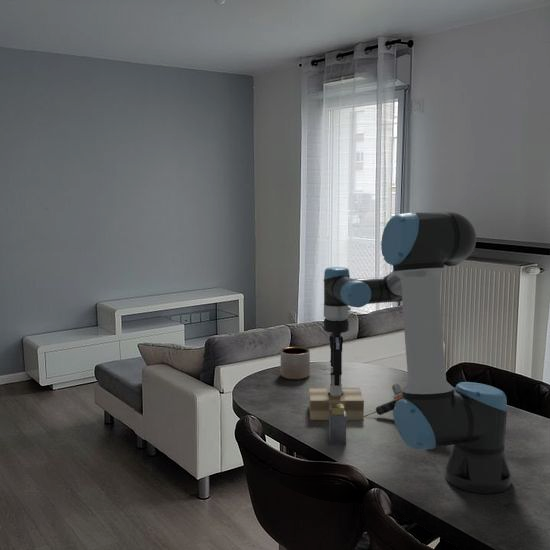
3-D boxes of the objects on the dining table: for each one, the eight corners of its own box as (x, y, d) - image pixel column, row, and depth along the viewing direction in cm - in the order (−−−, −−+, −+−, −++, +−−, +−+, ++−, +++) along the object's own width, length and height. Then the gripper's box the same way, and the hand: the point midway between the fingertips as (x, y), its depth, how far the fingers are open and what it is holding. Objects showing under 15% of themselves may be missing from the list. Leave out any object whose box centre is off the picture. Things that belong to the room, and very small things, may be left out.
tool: (454, 402, 176) (432, 365, 206) (363, 438, 180) (354, 396, 209) (460, 415, 177) (437, 376, 206) (368, 450, 180) (359, 407, 210)
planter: (278, 379, 234) (278, 353, 232) (282, 370, 244) (282, 346, 243) (308, 380, 232) (308, 355, 230) (311, 372, 242) (311, 347, 241)
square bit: (346, 443, 177) (346, 408, 175) (330, 443, 177) (330, 408, 176) (344, 437, 181) (345, 403, 180) (329, 437, 181) (329, 403, 180)
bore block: (363, 419, 194) (363, 400, 193) (310, 419, 195) (310, 400, 194) (359, 405, 206) (359, 387, 205) (309, 405, 206) (309, 387, 206)
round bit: (341, 414, 199) (342, 377, 197) (330, 414, 199) (330, 377, 197) (340, 410, 202) (341, 373, 200) (329, 410, 202) (329, 373, 200)
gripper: (351, 325, 186) (350, 401, 190) (345, 311, 205) (345, 381, 209) (325, 325, 187) (325, 401, 190) (322, 311, 205) (322, 381, 209)
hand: (335, 391), depth 199 cm, fingers open, 6 cm apart
